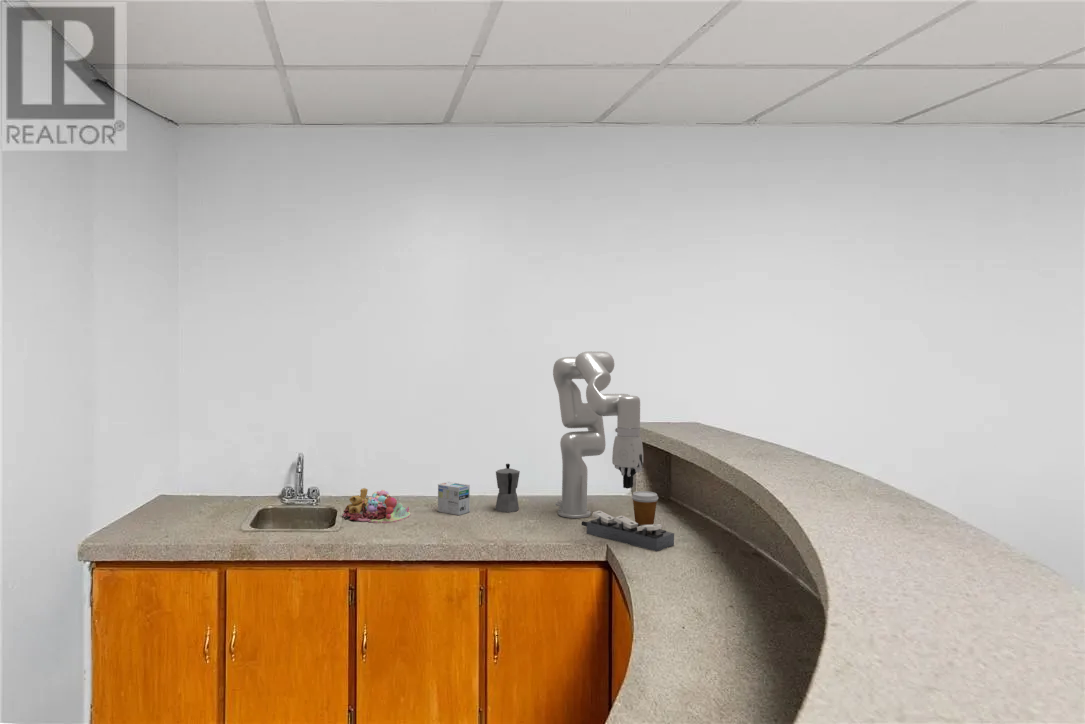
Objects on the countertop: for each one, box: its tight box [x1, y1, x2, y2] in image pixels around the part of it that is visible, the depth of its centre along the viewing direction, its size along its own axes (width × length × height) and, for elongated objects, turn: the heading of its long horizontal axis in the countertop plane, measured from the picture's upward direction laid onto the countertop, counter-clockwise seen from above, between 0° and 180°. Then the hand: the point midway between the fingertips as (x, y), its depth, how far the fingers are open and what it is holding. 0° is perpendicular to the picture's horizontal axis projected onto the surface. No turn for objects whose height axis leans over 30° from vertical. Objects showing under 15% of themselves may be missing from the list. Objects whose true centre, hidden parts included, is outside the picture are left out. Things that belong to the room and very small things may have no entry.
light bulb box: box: [437, 481, 471, 516], centre depth 288 cm, size 11×7×11 cm, turn 58°
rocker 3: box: [637, 523, 663, 531], centre depth 246 cm, size 7×4×1 cm, turn 47°
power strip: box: [581, 518, 675, 552], centre depth 257 cm, size 35×10×6 cm, turn 47°
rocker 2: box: [614, 515, 638, 529], centre depth 253 cm, size 7×4×1 cm, turn 47°
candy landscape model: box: [342, 487, 411, 524], centre depth 282 cm, size 25×24×9 cm
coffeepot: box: [494, 463, 521, 513], centre depth 292 cm, size 15×9×18 cm, turn 9°
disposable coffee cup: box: [631, 490, 659, 525], centre depth 271 cm, size 10×10×12 cm
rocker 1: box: [591, 510, 615, 523], centre depth 259 cm, size 7×4×1 cm, turn 47°
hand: (628, 487), depth 252 cm, fingers closed
